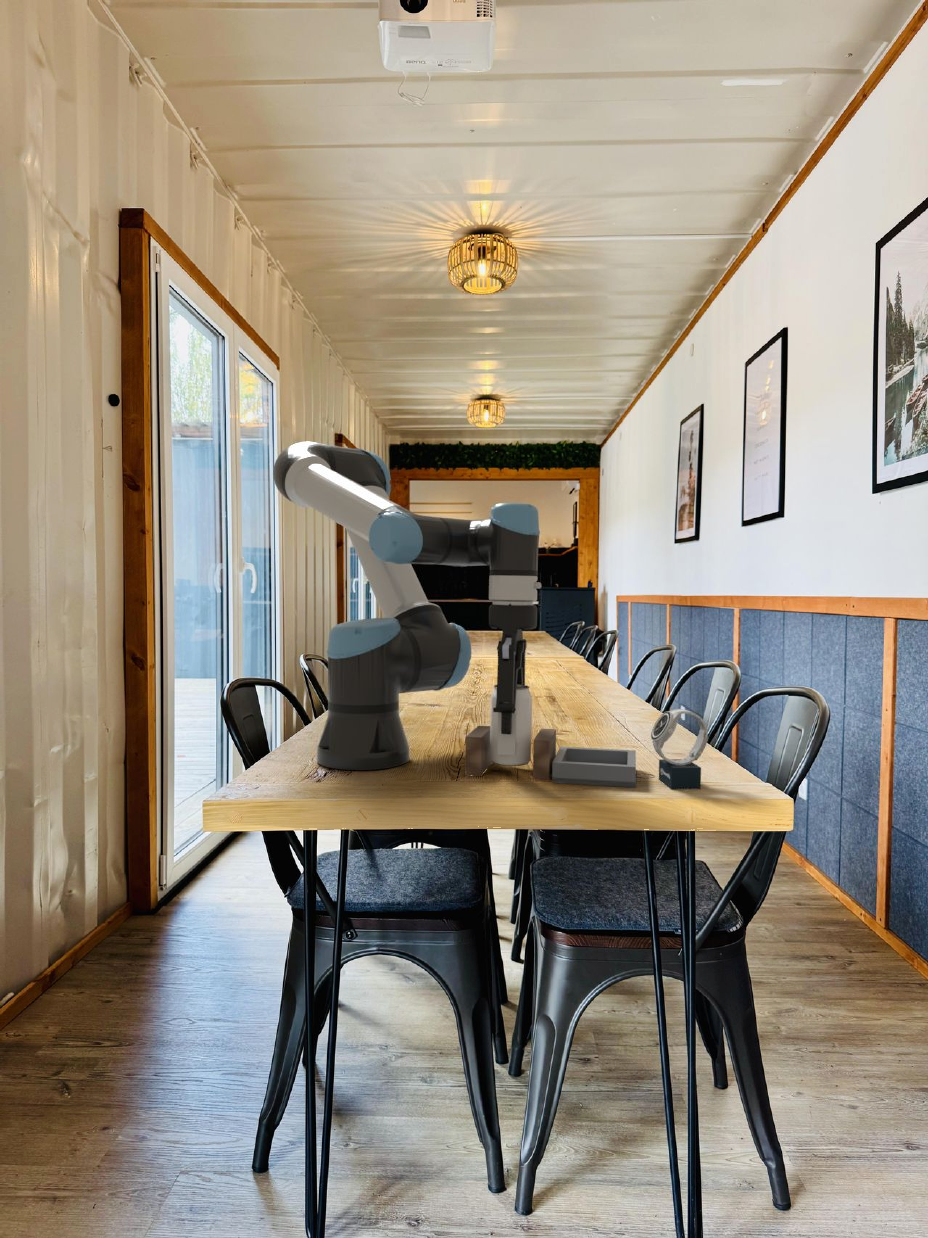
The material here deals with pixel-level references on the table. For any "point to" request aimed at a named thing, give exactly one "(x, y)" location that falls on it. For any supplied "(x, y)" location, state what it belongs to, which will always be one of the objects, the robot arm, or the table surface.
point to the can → (522, 729)
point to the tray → (595, 767)
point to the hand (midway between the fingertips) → (510, 749)
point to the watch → (678, 770)
